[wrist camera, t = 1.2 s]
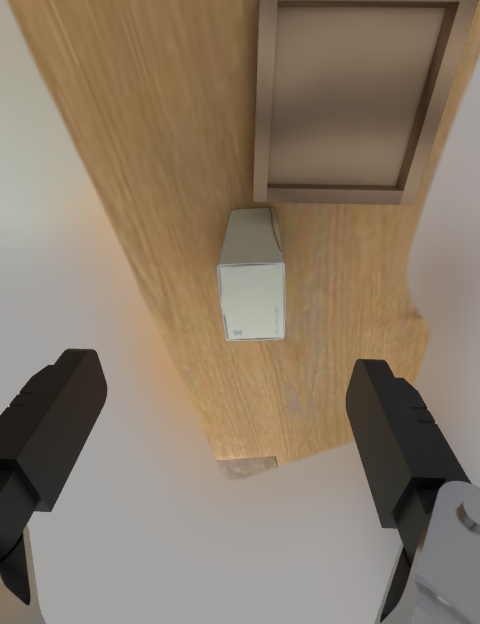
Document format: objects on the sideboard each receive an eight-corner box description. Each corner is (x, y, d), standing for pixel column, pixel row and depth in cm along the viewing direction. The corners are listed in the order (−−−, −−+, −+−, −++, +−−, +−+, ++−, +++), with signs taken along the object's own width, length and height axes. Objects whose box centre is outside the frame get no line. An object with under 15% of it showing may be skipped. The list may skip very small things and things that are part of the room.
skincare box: (276, 265, 32) (287, 342, 22) (233, 268, 33) (225, 344, 23) (276, 204, 29) (288, 262, 19) (228, 207, 29) (215, 266, 19)
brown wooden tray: (259, -1, 21) (260, -26, 17) (436, 0, 21) (486, -25, 17) (252, 184, 28) (253, 201, 24) (387, 187, 28) (413, 205, 24)
